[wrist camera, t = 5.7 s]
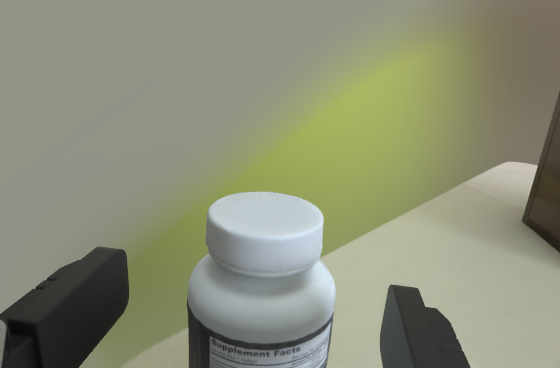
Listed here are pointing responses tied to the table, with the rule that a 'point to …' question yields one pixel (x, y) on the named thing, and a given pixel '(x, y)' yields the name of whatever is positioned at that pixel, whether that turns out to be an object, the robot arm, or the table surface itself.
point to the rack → (547, 187)
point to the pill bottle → (261, 286)
